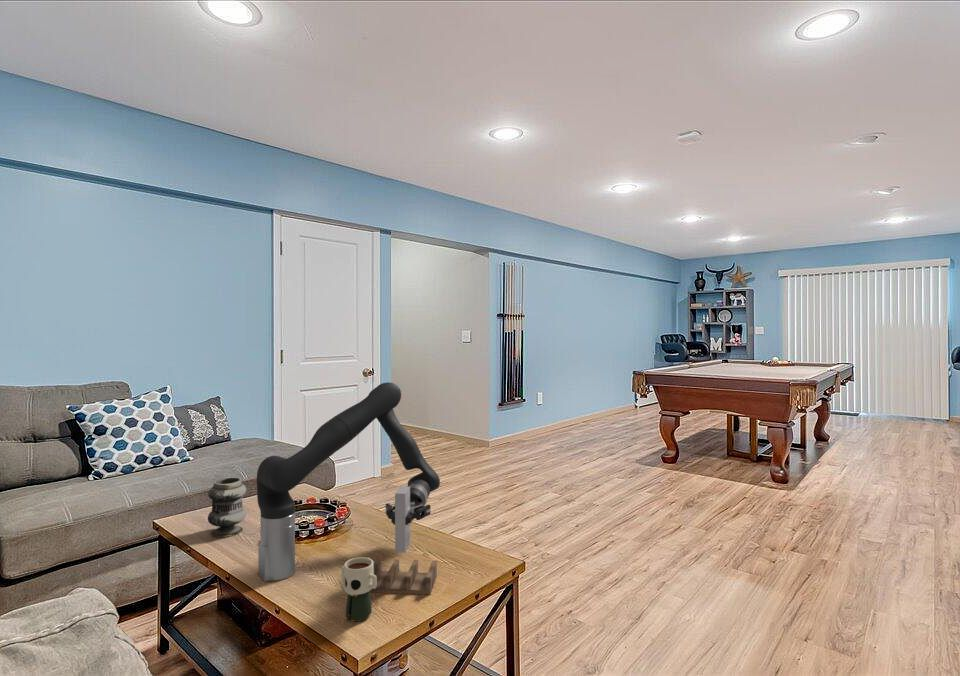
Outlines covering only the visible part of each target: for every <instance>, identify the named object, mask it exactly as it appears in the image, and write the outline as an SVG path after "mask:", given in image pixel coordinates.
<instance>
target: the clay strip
mask: <svg viewBox="0 0 960 676" xmlns="http://www.w3.org/2000/svg"><path fill="white" fill-rule="evenodd" d="M394 505H395V524H394V543H395V544H394V551H395V552H394V553H401V554H402V553H403V554H405V553H406V552H407V551H408V549H409V547H410V545H411V523H409V524H408V525H405V518H406V515H407V514H408V512H409V511H410V487H408V486H399V487H398V488H397V490H396V492H395V493H394Z"/></svg>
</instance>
